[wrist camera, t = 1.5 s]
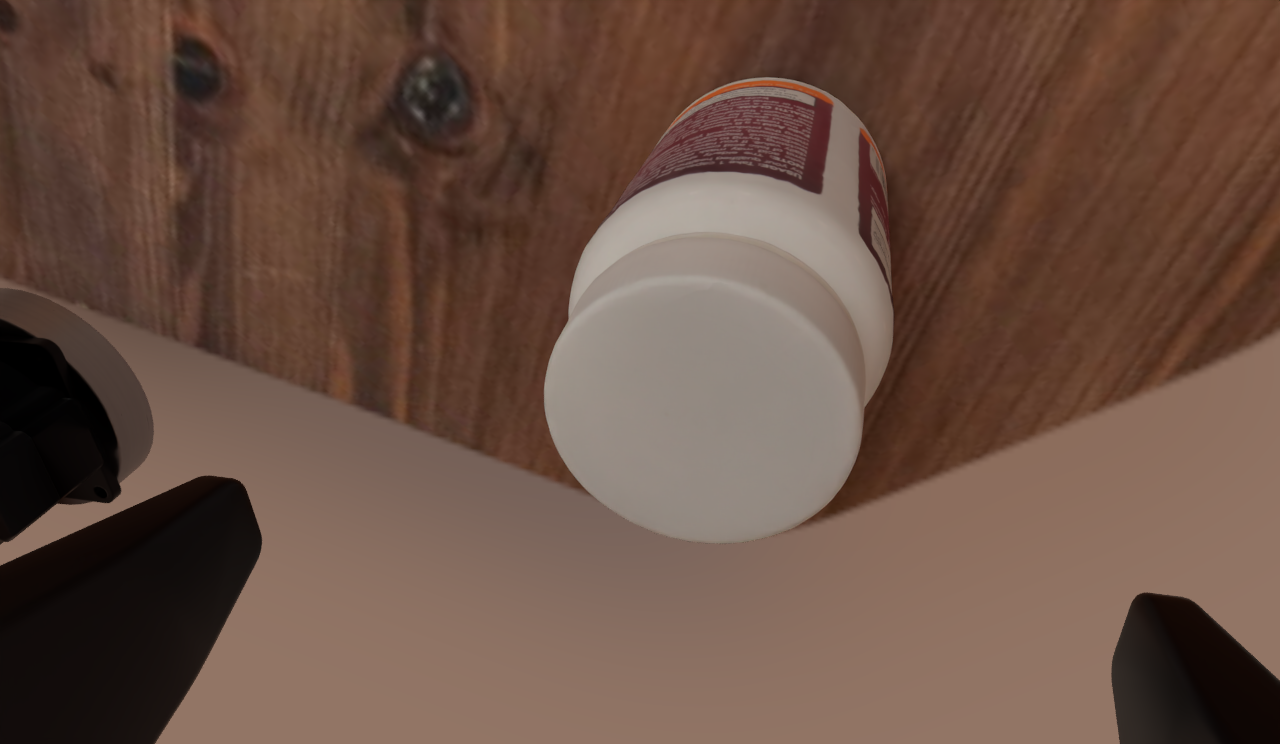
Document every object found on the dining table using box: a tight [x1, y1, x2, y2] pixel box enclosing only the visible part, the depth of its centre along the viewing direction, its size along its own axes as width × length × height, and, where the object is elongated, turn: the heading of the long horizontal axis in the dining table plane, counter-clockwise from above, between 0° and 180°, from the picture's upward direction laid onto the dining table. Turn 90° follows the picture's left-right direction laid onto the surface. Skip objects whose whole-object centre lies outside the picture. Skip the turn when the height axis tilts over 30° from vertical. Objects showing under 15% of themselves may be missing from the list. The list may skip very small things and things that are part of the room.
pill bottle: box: [544, 77, 894, 544], centre depth 14 cm, size 5×5×8 cm
